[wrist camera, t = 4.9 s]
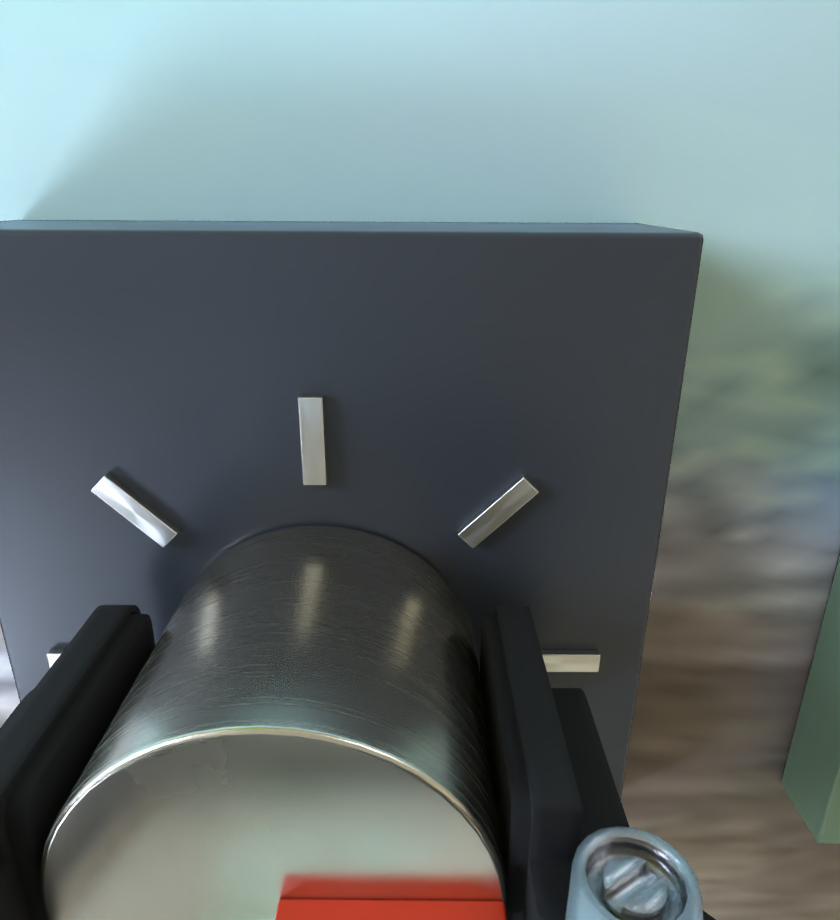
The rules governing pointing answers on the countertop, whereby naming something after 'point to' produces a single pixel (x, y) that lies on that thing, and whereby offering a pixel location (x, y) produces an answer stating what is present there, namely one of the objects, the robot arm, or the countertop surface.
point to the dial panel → (344, 417)
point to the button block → (819, 733)
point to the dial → (293, 752)
